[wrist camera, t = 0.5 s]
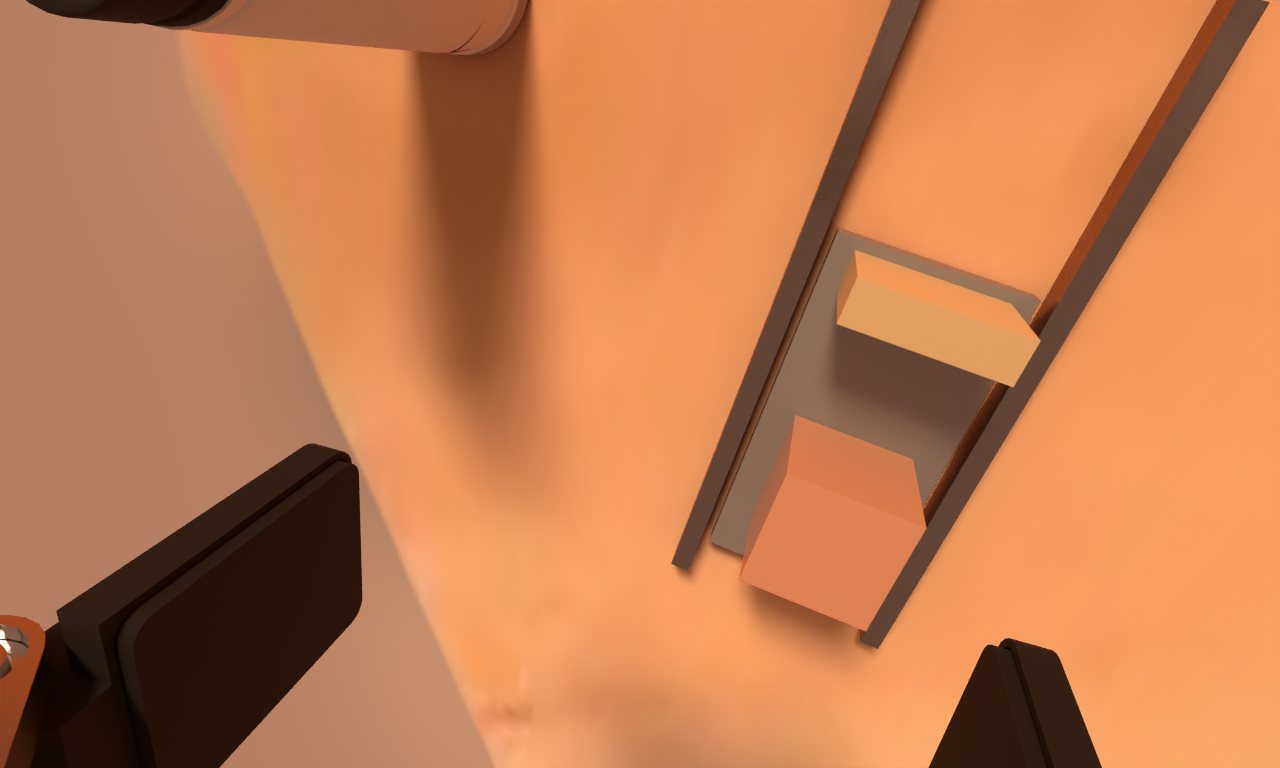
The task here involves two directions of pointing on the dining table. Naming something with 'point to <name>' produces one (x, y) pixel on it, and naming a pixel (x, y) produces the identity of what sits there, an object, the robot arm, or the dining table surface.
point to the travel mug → (322, 20)
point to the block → (833, 523)
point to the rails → (1055, 316)
